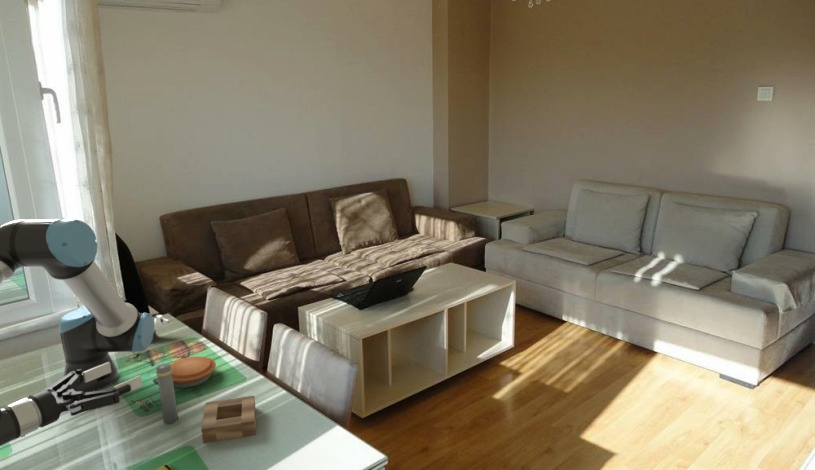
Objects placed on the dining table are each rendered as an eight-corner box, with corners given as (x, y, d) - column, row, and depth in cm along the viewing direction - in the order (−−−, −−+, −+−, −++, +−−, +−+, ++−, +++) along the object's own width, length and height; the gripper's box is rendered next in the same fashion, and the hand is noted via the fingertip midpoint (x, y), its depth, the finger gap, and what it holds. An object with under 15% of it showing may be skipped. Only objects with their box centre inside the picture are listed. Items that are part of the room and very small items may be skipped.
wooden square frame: (207, 415, 159) (205, 402, 158) (255, 408, 162) (254, 395, 161) (203, 442, 147) (201, 429, 146) (255, 434, 150) (254, 421, 149)
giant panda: (126, 344, 205) (122, 319, 203) (131, 337, 210) (128, 313, 208) (169, 341, 207) (165, 316, 204) (173, 334, 212) (170, 310, 210)
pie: (220, 383, 176) (219, 369, 175) (166, 396, 170) (164, 381, 169) (213, 362, 190) (211, 349, 189) (162, 373, 183) (160, 359, 182)
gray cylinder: (164, 417, 159) (156, 364, 155) (179, 415, 160) (171, 362, 156) (162, 425, 155) (154, 371, 151) (177, 422, 156) (170, 369, 152)
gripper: (10, 411, 134) (100, 374, 152) (65, 445, 121) (156, 400, 138) (4, 382, 133) (95, 348, 150) (59, 413, 119) (152, 372, 136)
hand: (125, 373), depth 144 cm, fingers open, 13 cm apart
